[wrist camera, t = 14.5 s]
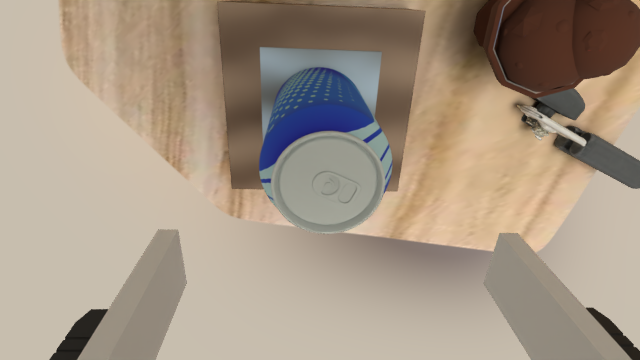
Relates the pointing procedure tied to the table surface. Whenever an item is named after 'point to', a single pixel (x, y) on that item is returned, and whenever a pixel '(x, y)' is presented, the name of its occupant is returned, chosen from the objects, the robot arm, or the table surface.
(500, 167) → the table surface
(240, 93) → the walnut plinth
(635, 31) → the ice cream bowl
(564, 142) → the can opener
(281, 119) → the beer can
